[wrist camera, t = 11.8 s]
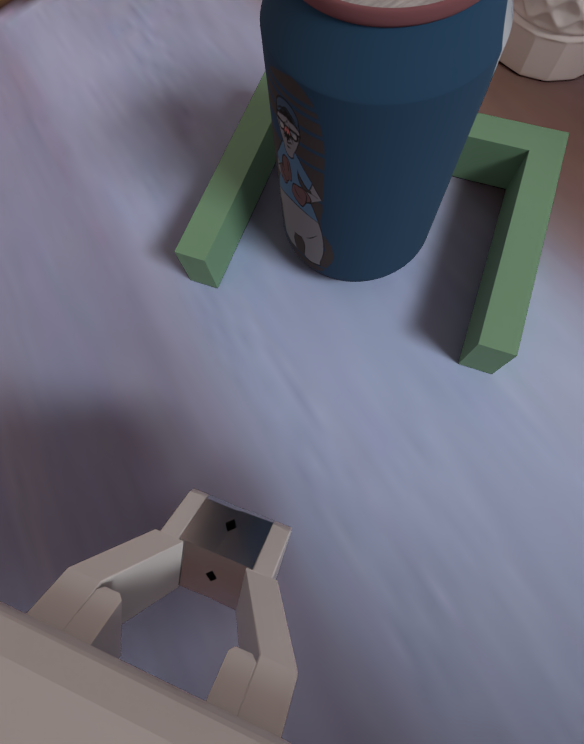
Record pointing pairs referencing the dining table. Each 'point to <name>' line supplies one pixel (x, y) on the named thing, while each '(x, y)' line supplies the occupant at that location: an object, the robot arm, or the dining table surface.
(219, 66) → the dining table surface
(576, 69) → the white cup
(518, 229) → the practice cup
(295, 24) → the soda can
